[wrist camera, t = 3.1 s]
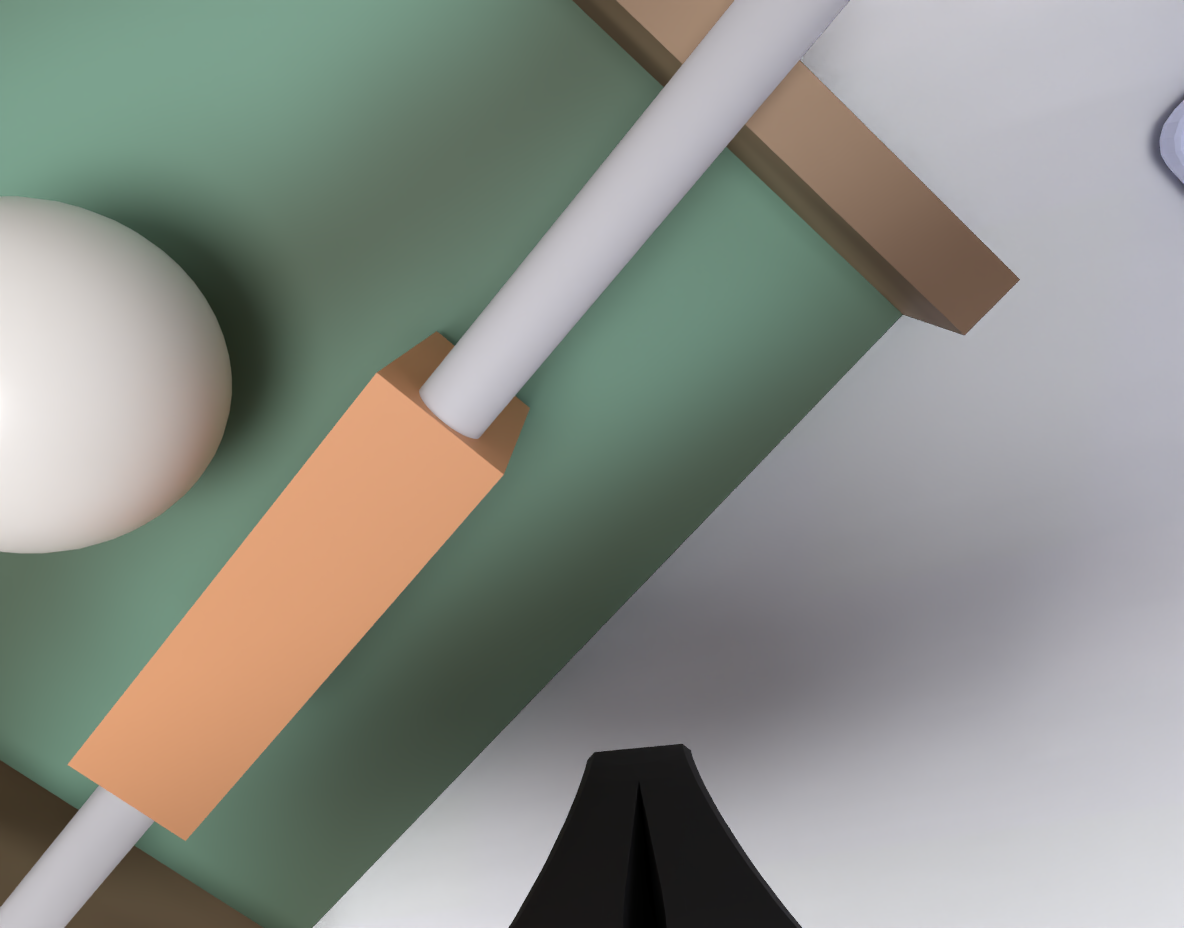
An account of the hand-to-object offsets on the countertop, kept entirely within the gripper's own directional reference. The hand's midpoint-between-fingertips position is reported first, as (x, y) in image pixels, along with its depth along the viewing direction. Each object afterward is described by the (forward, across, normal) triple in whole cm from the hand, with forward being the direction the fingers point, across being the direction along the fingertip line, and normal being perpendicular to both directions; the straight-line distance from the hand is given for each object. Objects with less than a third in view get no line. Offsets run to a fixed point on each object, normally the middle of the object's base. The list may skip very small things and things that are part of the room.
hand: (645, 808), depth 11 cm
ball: (0, +6, -7) cm, 9 cm away
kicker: (+1, +4, -3) cm, 6 cm away
